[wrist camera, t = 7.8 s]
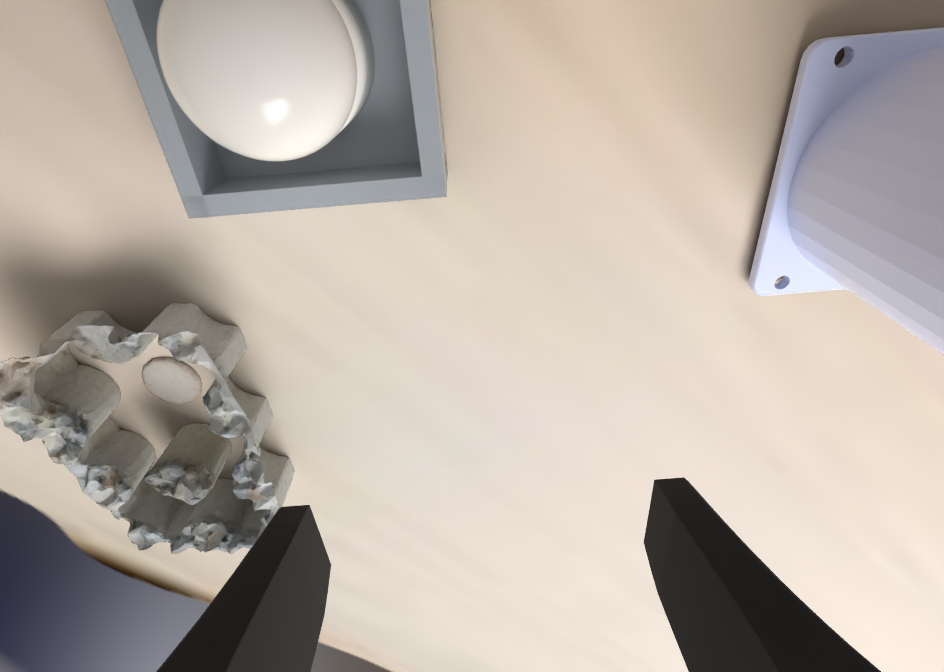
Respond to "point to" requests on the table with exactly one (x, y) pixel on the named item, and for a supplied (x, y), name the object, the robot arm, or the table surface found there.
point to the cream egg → (267, 71)
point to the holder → (333, 166)
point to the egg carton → (129, 454)
